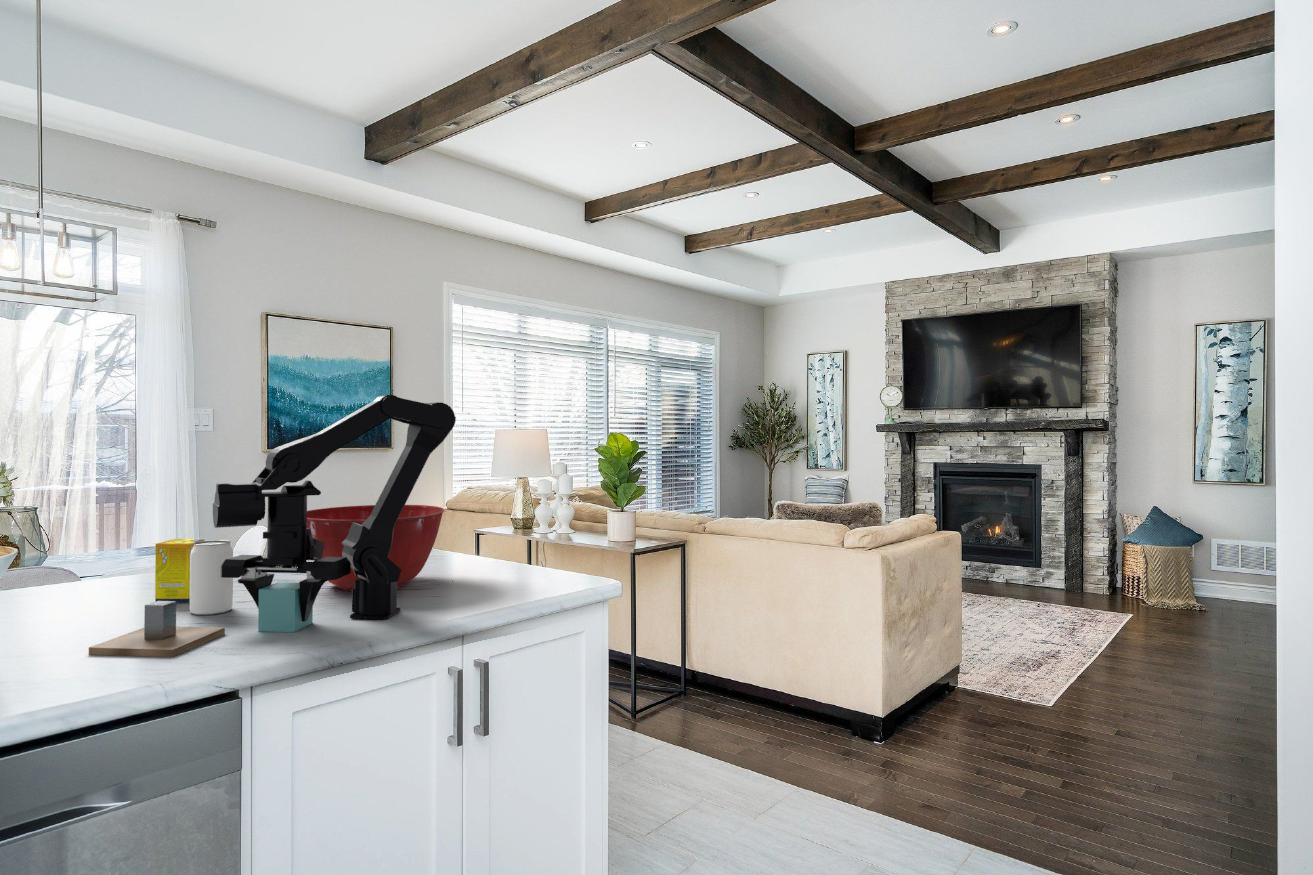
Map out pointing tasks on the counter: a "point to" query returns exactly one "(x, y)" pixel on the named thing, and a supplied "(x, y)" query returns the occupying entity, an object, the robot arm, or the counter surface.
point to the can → (210, 578)
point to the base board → (157, 642)
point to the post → (160, 620)
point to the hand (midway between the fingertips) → (286, 620)
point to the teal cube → (281, 608)
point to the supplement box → (173, 570)
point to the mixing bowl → (408, 542)
